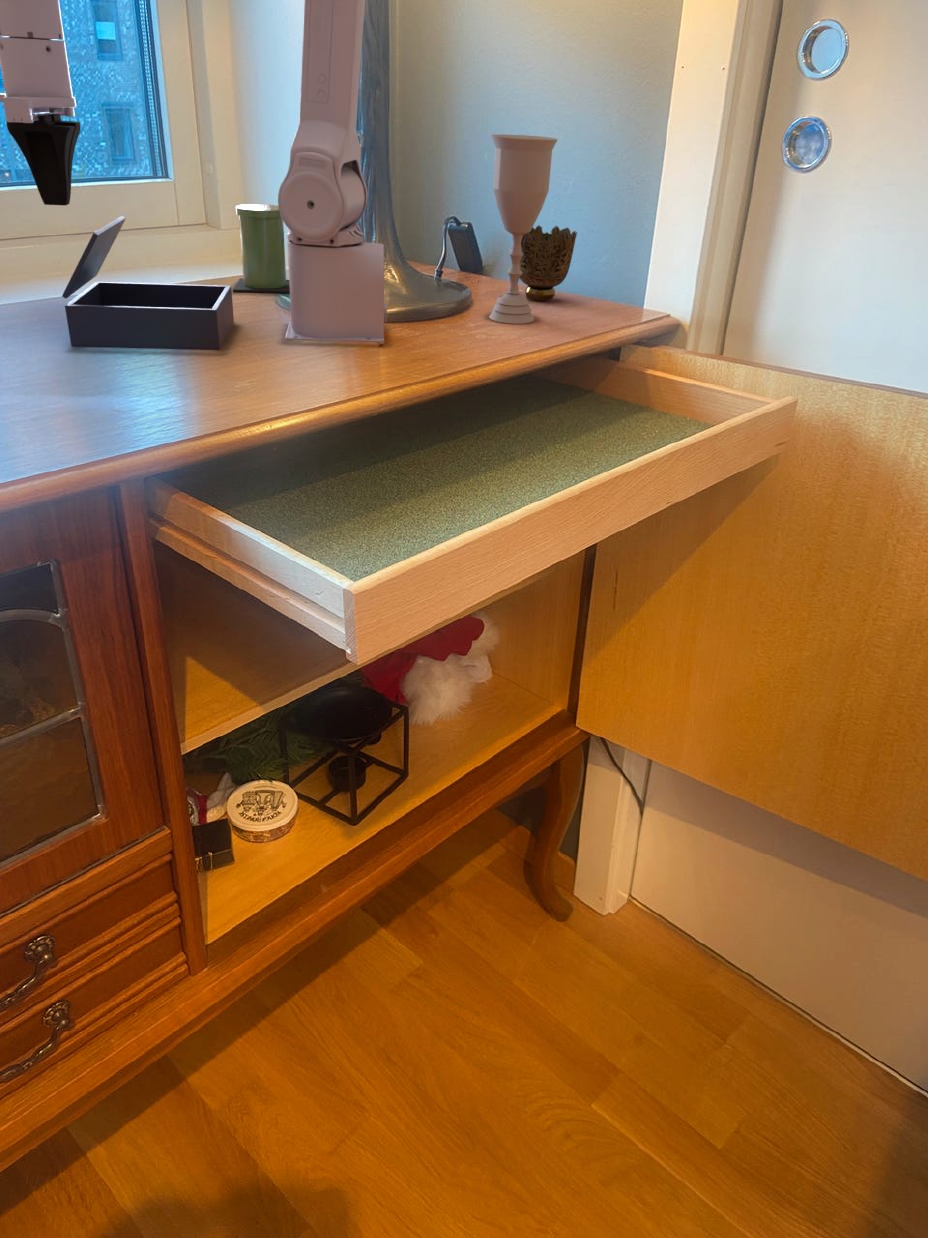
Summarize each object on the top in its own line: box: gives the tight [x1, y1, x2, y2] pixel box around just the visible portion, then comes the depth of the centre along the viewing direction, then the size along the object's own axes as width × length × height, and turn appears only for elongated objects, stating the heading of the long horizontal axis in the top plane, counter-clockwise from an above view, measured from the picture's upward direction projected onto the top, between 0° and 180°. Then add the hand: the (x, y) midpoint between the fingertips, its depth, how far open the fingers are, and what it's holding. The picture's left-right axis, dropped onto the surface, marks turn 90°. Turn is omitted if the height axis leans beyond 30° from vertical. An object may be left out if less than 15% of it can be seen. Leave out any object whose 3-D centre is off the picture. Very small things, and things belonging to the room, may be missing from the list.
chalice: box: [488, 134, 558, 325], centre depth 99 cm, size 7×7×18 cm
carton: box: [64, 281, 235, 351], centre depth 87 cm, size 13×11×4 cm
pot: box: [235, 203, 287, 289], centre depth 108 cm, size 6×6×8 cm
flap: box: [61, 215, 127, 299], centre depth 84 cm, size 6×11×1 cm
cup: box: [519, 225, 578, 302], centre depth 111 cm, size 8×7×8 cm
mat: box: [232, 277, 290, 295], centre depth 110 cm, size 7×7×1 cm
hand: (56, 204), depth 90 cm, fingers closed
